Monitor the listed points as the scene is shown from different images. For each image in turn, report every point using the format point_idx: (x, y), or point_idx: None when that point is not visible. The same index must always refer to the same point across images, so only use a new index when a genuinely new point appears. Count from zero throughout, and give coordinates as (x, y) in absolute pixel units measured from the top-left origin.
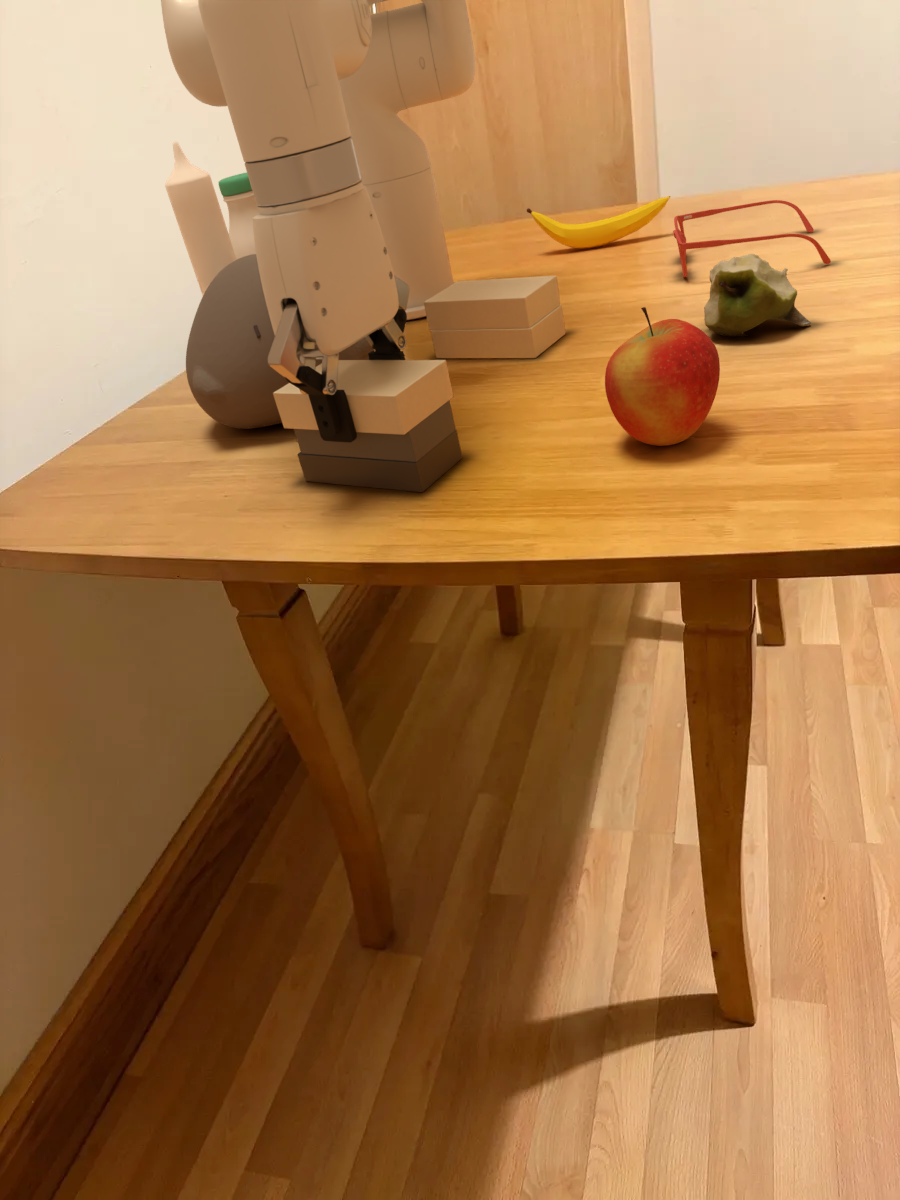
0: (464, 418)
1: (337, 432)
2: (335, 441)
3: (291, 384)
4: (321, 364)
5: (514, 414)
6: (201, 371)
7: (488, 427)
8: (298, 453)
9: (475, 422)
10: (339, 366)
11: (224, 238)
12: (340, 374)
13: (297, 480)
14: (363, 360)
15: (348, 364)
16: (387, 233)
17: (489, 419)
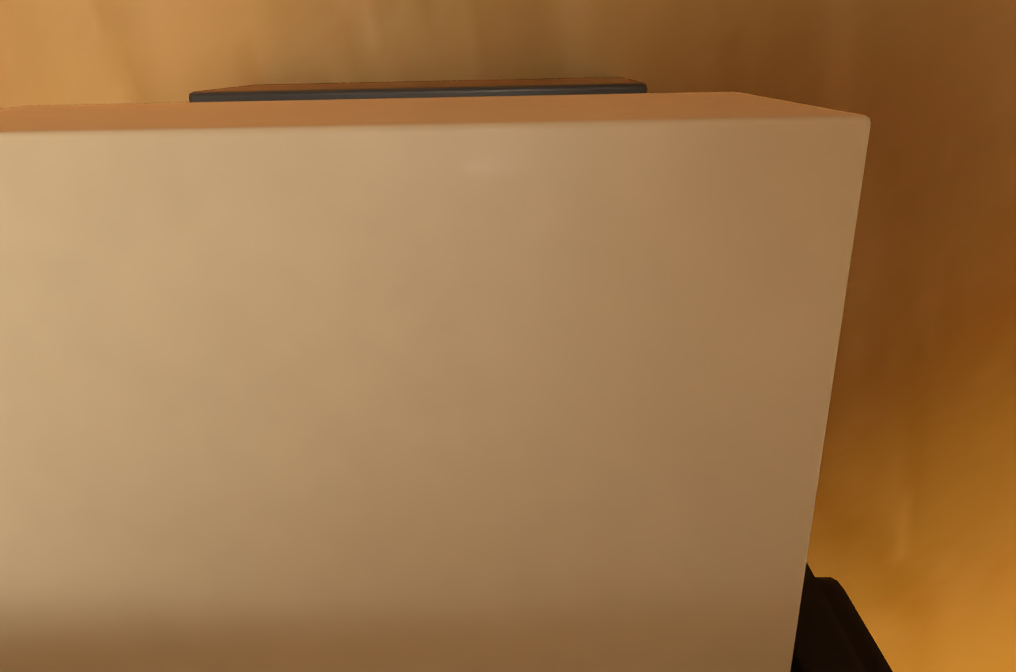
0: (996, 486)
1: None
2: None
3: (14, 226)
4: (695, 161)
5: (1010, 665)
6: None
7: (885, 626)
8: (197, 97)
9: (944, 554)
10: (614, 486)
11: None
12: (391, 646)
13: (250, 16)
14: (781, 647)
15: (674, 552)
16: None
17: (970, 595)
